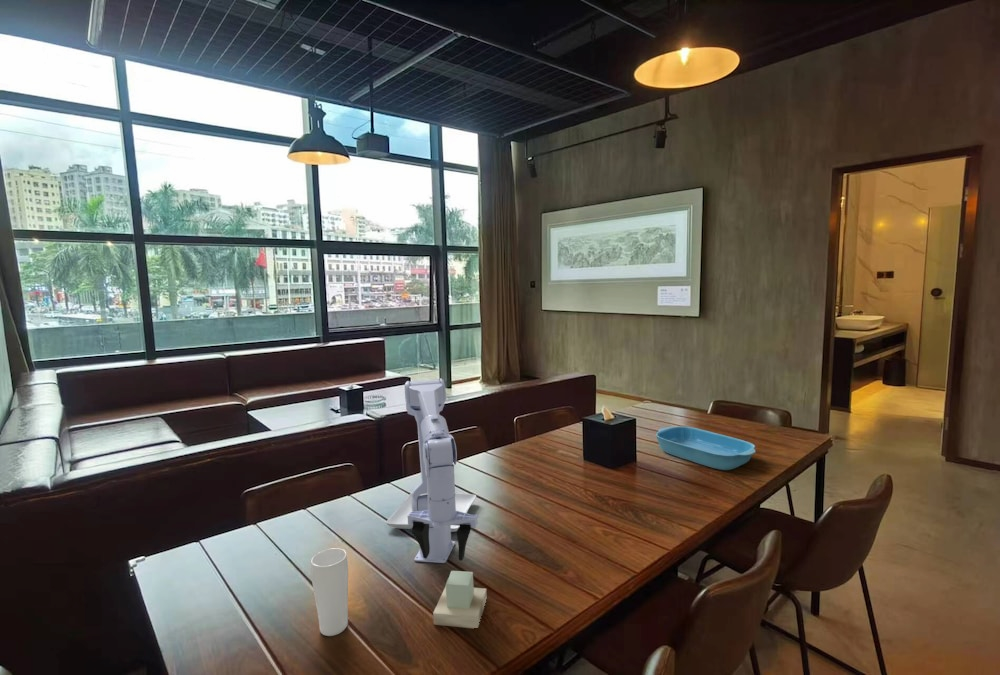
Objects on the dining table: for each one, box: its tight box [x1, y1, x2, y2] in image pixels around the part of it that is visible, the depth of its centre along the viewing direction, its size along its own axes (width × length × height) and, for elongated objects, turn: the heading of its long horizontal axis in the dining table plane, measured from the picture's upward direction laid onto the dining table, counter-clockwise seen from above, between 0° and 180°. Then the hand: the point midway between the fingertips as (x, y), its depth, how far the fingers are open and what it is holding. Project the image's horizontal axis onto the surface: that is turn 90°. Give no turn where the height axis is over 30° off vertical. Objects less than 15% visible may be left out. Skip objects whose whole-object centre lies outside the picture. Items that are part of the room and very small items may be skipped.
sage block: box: [445, 570, 475, 609], centre depth 98 cm, size 5×5×5 cm
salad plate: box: [385, 491, 477, 533], centre depth 140 cm, size 21×21×3 cm
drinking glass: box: [310, 547, 349, 637], centre depth 94 cm, size 7×7×15 cm
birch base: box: [432, 585, 488, 629], centre depth 99 cm, size 9×9×3 cm
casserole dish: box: [655, 425, 757, 471], centre depth 182 cm, size 37×22×7 cm, turn 36°
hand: (444, 556), depth 101 cm, fingers open, 7 cm apart
